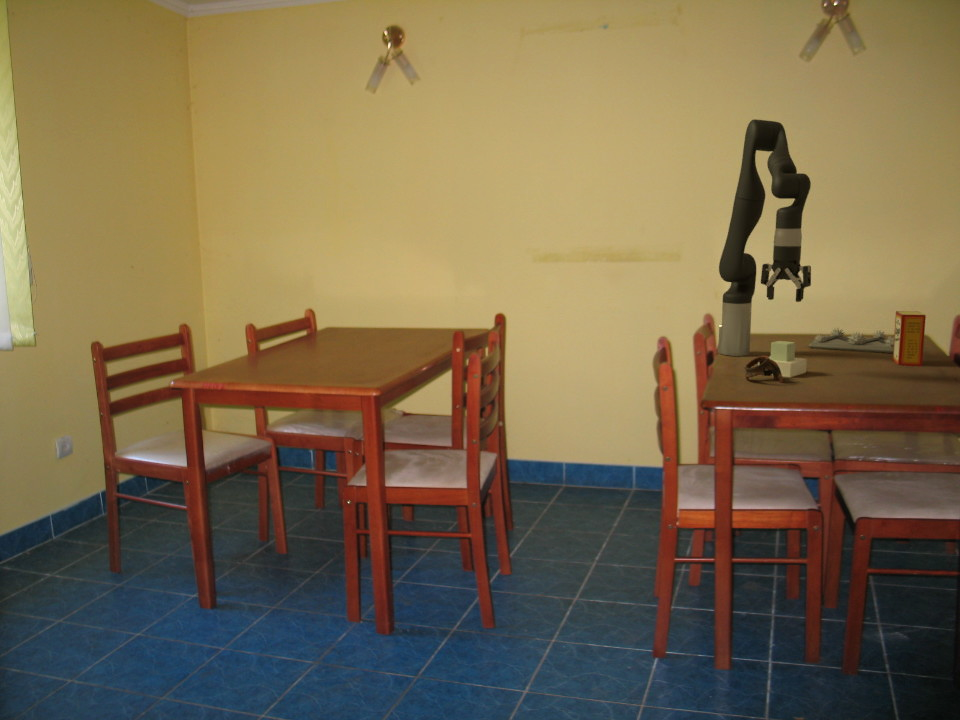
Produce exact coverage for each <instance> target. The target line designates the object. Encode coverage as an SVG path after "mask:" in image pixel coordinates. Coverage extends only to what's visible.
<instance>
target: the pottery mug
mask: <svg viewBox="0 0 960 720" xmlns="http://www.w3.org/2000/svg"><path fill="white" fill-rule="evenodd" d="M769 357H770V356H768V355H760V356H757V357H755V358H753V359H752V360H750V361H749V362H747V363H746V364H745V365H746V366H745V367H744V369H745V376H744V377H745V379H746V380H747V381H749V379H750V378H753V377H757V376H759V375H761V376H763V377H771V376H773V380H774V381H775V380H778V381H779V383H780V384H782V383H784V382H783V376H782V374H781V370H780V368H779V366H778V364H777V363H776V362H775V361H773V360H771V359H770V358H769ZM758 362H759V365H758ZM755 365H756V366H755ZM772 374H773V375H772Z"/></svg>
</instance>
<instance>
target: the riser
mask: <svg viewBox="0 0 960 720" xmlns="http://www.w3.org/2000/svg"><path fill="white" fill-rule="evenodd" d="M768 357H769V358H771V356H768ZM773 361H775V362H776V363H777V364H778V366H779V368H780V370H781V374H782V377H783V378H792V377H796V376H799V375H802V374H805V373H807V358H800V357H795V359H794V360H790V361H778V360H773ZM758 365H759V362H758V364H757V366H758ZM771 376H773V374H772V375H771Z"/></svg>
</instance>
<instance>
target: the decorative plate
mask: <svg viewBox="0 0 960 720" xmlns="http://www.w3.org/2000/svg"><path fill="white" fill-rule="evenodd" d="M843 331H844V329H843V328H842V329H840V328H839V326H837V328H834V329H832V330H831V331H830V333H829V335H824V334H822V333H821V334H817V335H816V336H814V338H813V341H812V342H810V343H809V344H808V345H807V346H808V347H809V349H814V348H822V349H821V350H830V349H838V350H837V351H846V350H853V351H852V352H861V351H869V352H868V353H877V352H885V353H884V354H893V347H894V335H892V336H887V334H885V333H886V332H885V331H884V330H883V331H881V330H876V331H875V332H874V333H873V336H872V337H865V334H864V333H861V334H860V332H854V331H852V332H851V333H850V335H849V336H848V335H847V336H845V332H843ZM886 337H887V338H886Z"/></svg>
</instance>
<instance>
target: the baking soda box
mask: <svg viewBox="0 0 960 720" xmlns="http://www.w3.org/2000/svg"><path fill="white" fill-rule="evenodd" d="M926 316H927V315H926V314H925V313H923V312H921V311H917V310H914V311H913V310H911V311H910V310H896V311H895V319H894V321H895V322H894V333H893V334H894V347H893V353H892V361H893V362H894V363H895V364H896V365H897V364H898V365H897V366H899V365H902V366H904V365H905V366H904V367H906V366H907V367H923V357H924V341H925V331H926V318H927V317H926ZM902 366H901V367H902Z"/></svg>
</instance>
